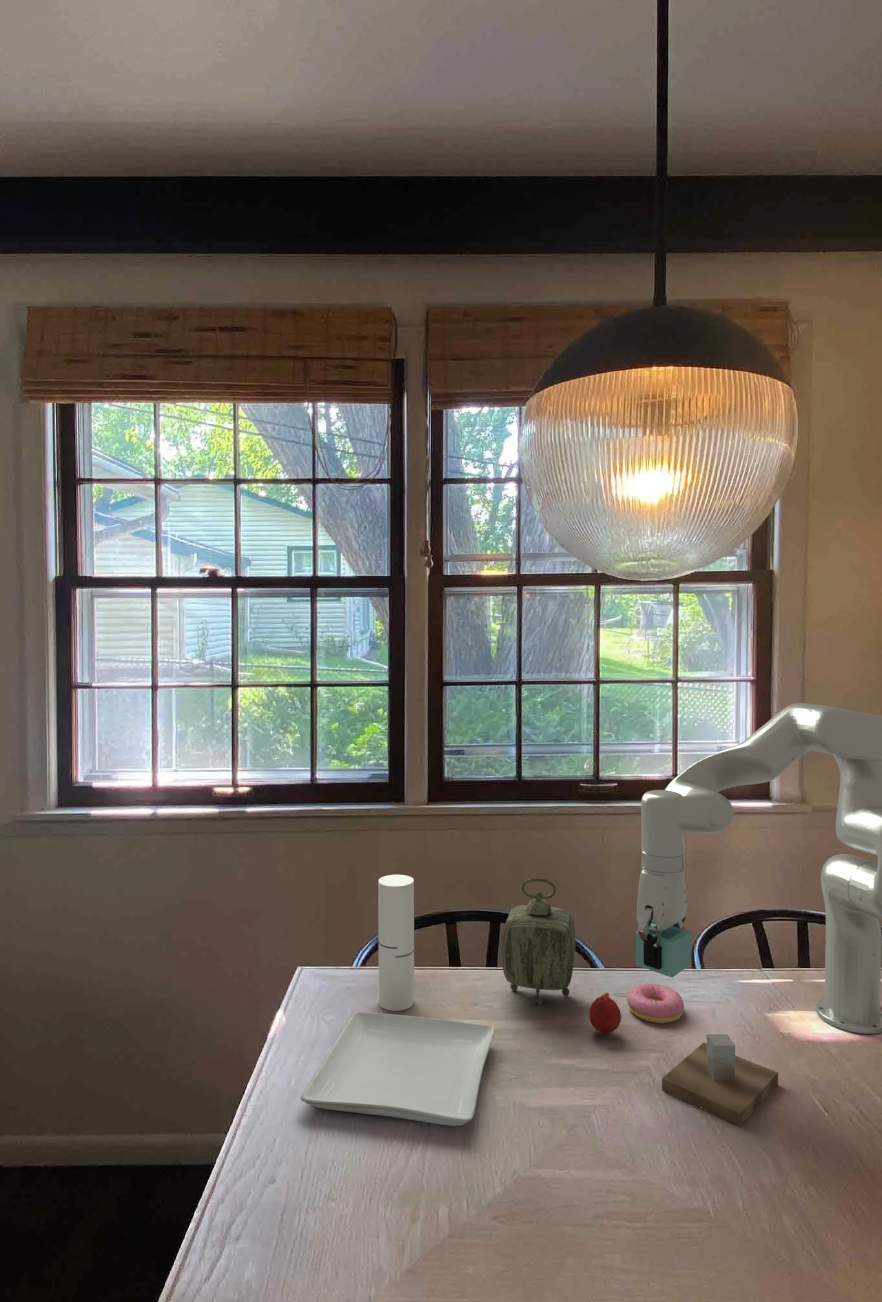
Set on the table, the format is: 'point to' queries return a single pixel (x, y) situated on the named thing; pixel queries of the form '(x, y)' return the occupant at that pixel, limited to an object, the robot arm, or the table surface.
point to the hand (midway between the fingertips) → (663, 959)
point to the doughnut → (655, 1003)
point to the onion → (604, 1014)
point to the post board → (721, 1091)
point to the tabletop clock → (538, 945)
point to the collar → (668, 950)
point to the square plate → (403, 1068)
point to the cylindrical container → (396, 942)
